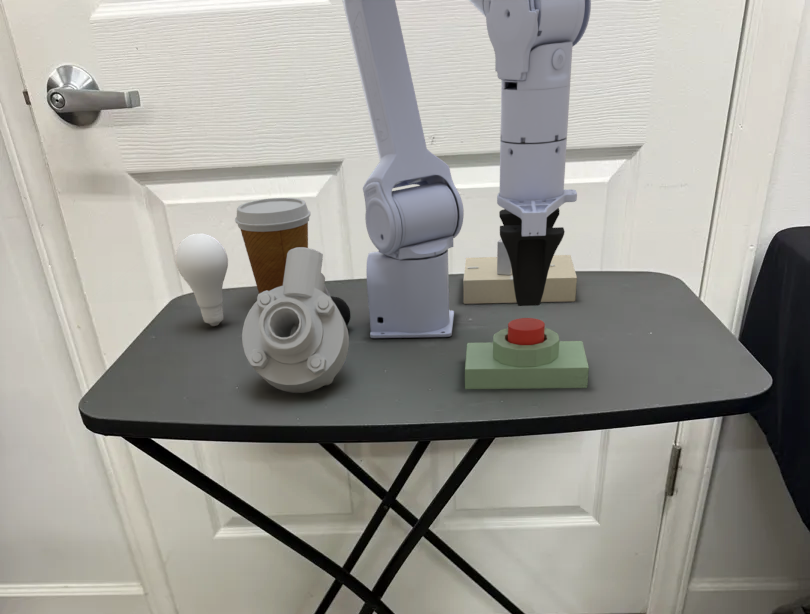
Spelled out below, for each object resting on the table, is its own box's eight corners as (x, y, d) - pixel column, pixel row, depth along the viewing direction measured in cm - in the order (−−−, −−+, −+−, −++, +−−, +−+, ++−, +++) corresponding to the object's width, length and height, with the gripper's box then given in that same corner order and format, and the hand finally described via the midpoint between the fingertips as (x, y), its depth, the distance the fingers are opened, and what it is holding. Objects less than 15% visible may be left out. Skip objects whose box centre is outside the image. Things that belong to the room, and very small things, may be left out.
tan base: (463, 305, 98) (463, 280, 96) (466, 278, 107) (465, 255, 105) (575, 303, 96) (577, 277, 95) (568, 276, 105) (570, 252, 104)
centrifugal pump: (364, 429, 92) (380, 307, 93) (330, 380, 72) (350, 227, 74) (280, 421, 93) (297, 301, 94) (225, 370, 74) (247, 220, 75)
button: (507, 348, 76) (508, 330, 75) (507, 334, 79) (507, 318, 78) (544, 347, 76) (545, 330, 75) (543, 334, 79) (543, 317, 78)
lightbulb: (249, 323, 97) (233, 231, 91) (208, 337, 93) (189, 243, 87) (220, 313, 100) (203, 225, 94) (180, 327, 97) (159, 236, 91)
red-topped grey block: (510, 275, 97) (511, 240, 95) (496, 274, 98) (497, 239, 95) (524, 259, 102) (525, 226, 100) (511, 259, 103) (511, 225, 100)
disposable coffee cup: (261, 289, 108) (246, 197, 101) (327, 289, 107) (317, 195, 100) (239, 312, 100) (222, 215, 93) (311, 312, 99) (298, 213, 92)
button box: (465, 389, 77) (464, 351, 75) (467, 362, 83) (466, 326, 81) (587, 388, 76) (590, 349, 74) (580, 360, 82) (583, 323, 79)
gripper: (588, 150, 61) (575, 320, 68) (573, 124, 72) (564, 271, 80) (498, 154, 61) (495, 322, 69) (497, 128, 73) (495, 273, 81)
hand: (527, 295), depth 75 cm, fingers open, 5 cm apart
